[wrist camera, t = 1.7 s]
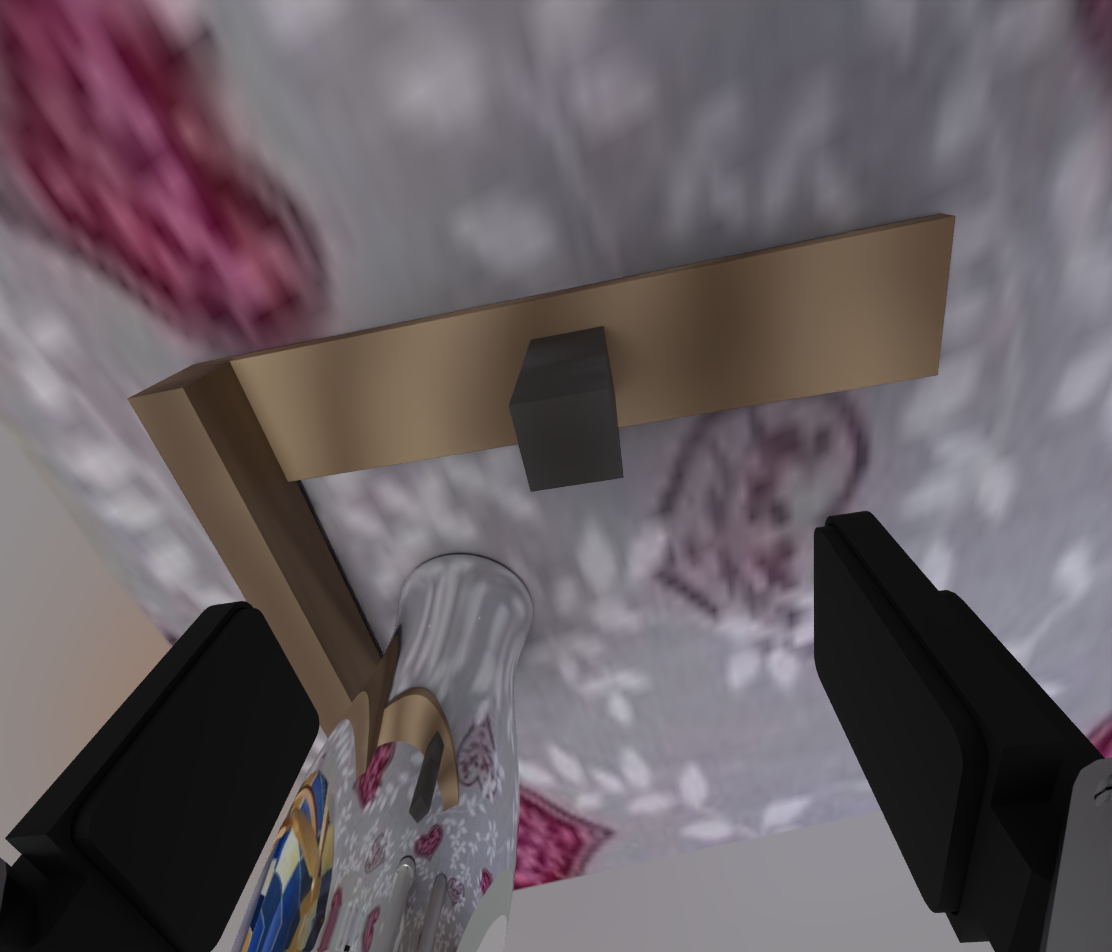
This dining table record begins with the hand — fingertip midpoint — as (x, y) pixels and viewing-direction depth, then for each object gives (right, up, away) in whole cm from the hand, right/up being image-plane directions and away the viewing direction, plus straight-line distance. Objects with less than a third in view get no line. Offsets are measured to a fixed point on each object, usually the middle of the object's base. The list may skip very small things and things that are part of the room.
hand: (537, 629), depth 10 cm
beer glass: (-4, -3, +17) cm, 18 cm away
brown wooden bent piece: (+1, +1, +14) cm, 14 cm away
